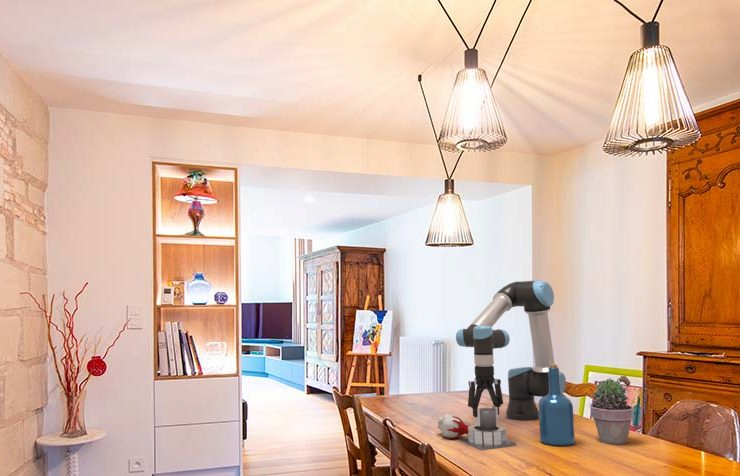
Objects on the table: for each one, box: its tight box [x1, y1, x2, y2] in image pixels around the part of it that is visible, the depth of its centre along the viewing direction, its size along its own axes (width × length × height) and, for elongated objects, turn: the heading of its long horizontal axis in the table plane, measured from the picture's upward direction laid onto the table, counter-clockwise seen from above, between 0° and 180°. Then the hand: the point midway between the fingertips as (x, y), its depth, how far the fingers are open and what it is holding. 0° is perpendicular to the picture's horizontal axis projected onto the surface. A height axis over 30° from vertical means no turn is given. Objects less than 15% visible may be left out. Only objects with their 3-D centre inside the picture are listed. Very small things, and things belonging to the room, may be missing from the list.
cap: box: [478, 407, 497, 427], centre depth 224 cm, size 8×8×6 cm
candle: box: [437, 412, 470, 440], centre depth 233 cm, size 9×11×15 cm
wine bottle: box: [538, 363, 576, 447], centre depth 223 cm, size 14×13×30 cm
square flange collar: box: [458, 424, 518, 451], centre depth 223 cm, size 16×16×6 cm
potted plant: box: [586, 375, 634, 445], centre depth 223 cm, size 18×20×25 cm
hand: (486, 424), depth 223 cm, fingers closed on cap, 7 cm apart
